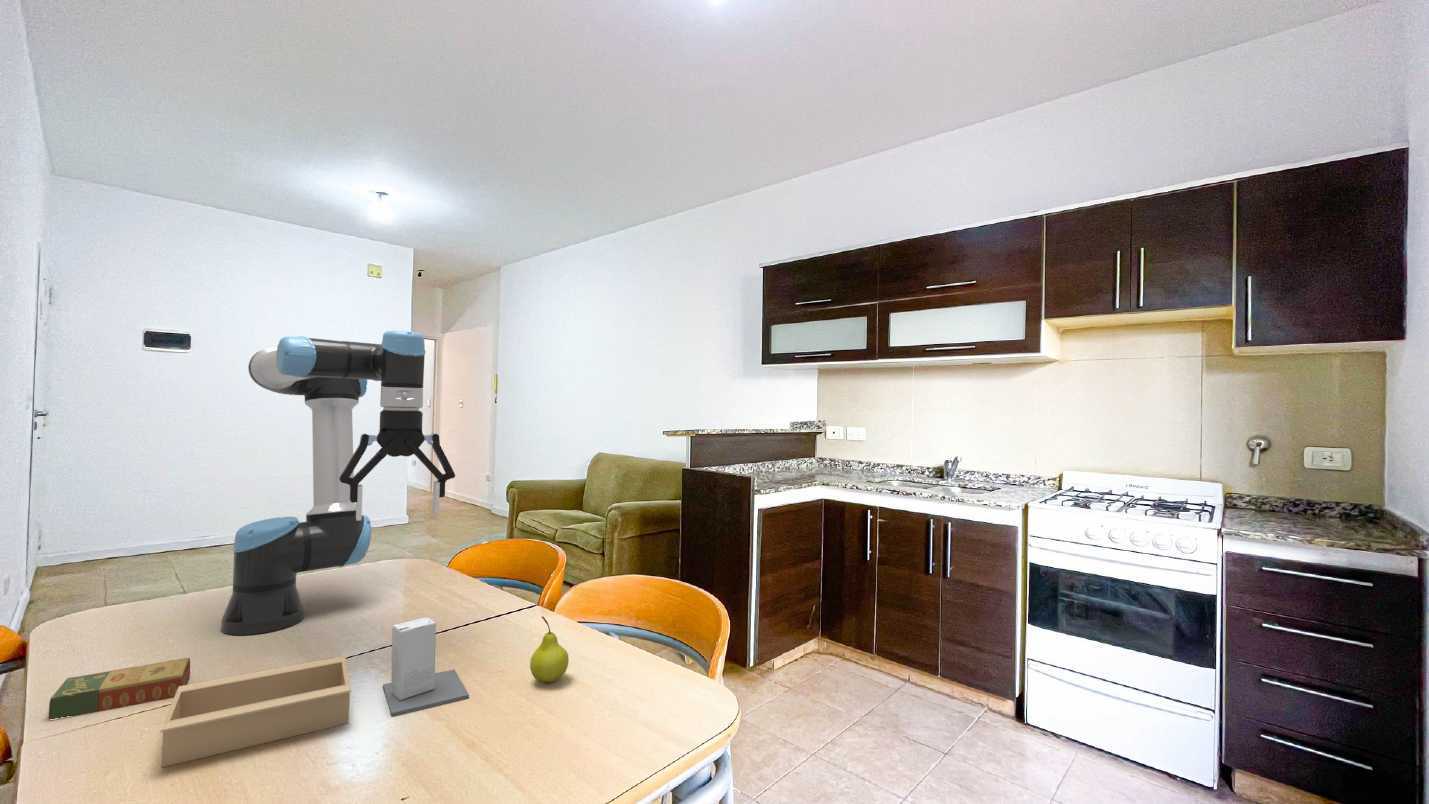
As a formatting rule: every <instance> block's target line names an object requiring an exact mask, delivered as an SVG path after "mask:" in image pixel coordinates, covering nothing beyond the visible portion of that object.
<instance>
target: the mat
mask: <svg viewBox="0 0 1429 804" xmlns="http://www.w3.org/2000/svg"><path fill="white" fill-rule="evenodd" d="M382 688H383V692H384V696H385V699H386V703H387V706H388V710H389V713H390V716H391V718H393V717H396V716H400V715H404V714H409V713H414V712H417V711H422V710H425V709H429V708H434V707H437V706H443V705H446V704H449V703H450V704H451V703H454V702H458V701H462V700H466V699H470V694H469V692H468V690H467V688H466V687H465V685H464V683H463V681H462V680H461V678H460V676H459V675H458V674H457V672H456V670H455V669H449V670H444V671H440V672H435V688H434V689H433V690H430V691H427V692H424V693H421V694H418V695H415V696H412V697H409V698H406V699H402V700H399V699H398V698H397V697H396V696H394V694H393V693H392V692H391V682H388V683H384V684H382Z"/></svg>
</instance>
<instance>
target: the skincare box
mask: <svg viewBox="0 0 1429 804" xmlns="http://www.w3.org/2000/svg"><path fill="white" fill-rule="evenodd" d="M391 627H392V628H391V629H392V630H391V680H390V681H391V682H390V683H391V692H392V693H393V694H394V696H396V697H397V698H398V699H399V700H402V699H406V698H409V697H412V696H415V695H418V694H421V693H424V692H427V691H430V690H433V689H434V688H435V673H436V649H437V647H436V645H437V644H436V643H437V642H436V641H437V637H436V635H437V629H436V627H437V623H436V622H435V621H434V620H432V619H431V618H429V617H428V616H427V617H421V618H417V619H413V620H408V621H405V622H401V623H396V624H393V625H392V626H391Z"/></svg>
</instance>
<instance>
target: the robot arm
mask: <svg viewBox="0 0 1429 804" xmlns="http://www.w3.org/2000/svg"><path fill="white" fill-rule="evenodd" d="M381 340H382V341H381V344H380V343H373V342H372V343H370V342H369V343H368V342H361V341H360V342H357V341H346V340H332V339H323V338H313V337H306V336H284V337H282V338H280V340H279V342H278V344H277V347H276V346H274V347H273V346H272V347H267V348H263V349H261V350H259V351H257V352H256V353H254V354H253V355H252V357H251V358H250V360H249V363H248V366H247V368H248V375H249V376H250V378H251V380H252V381H253V382H254V383H255V384H256V385H258V386H259V387H261V388H263V389H265V390H267V391H270V392H273V393H277V394H280V395H281V394H282V395H290V396H304V405H306V406H307V407H308V408H309V409H310V410H311V412H312V417H311V421H312V422H311V423H312V428H311V429H312V430H311V431H312V474H313V475H312V480H313V481H312V482H313V483H312V484H313V485H312V486H313V487H312V489H313V491H312V492H313V495H312V496H313V497H312V498H313V506H312V508H311V509H310V510H308V512H307V513H306V514H305V517H306V518H305V519H306V520H305V521H302V522H300V520H299V519H298V518H297V517H295V516H284V517H279V516H278V517H273V518H267V519H263V520H257V521H254V522H251V523H249V524H246V525H243V526H242V527H240V528H239V529H238V530H237V531H236V532H235V535H234V536H235V537H234V543H233V547H232V552H233V571H232V577H233V578H232V594H231V597H230V599H229V601H228V603H227V606H226V609H225V610H224V614H223V615H222V618H221V623H220V624H221V626H220V631H221V632H222V633H224V634H228V635H236V636H246V635H256V634H257V635H258V634H264V633H270V632H275V631H278V630H282V629H286V628H289V627H292V626H295V625H296V624H298V623H300V622H301V621H303V619H304V618H305V607H304V604H303V601H302V598H301V595H300V593H299V590H298V587H297V575H298V573H303V572H311V571H317V570H325V569H329V568H340V567H345V566H349V565H353V564H358V563H359V562H360V563H361V561H362V560H363V559H364V558H365V557H366V554H367V553H368V550H369V548H370V543H371V539H372V525H371V519H370V518H369V517H368V516H367V515H365V514H363V515H362V513H363V490H364V489H363V488H364V487H363V484H361V482H362V481H363V480H364V479H365V478H366V477H367V475H368V474H369V473H371V472H372V470H374V468H375V467H377V465H378V464H379V463H380V462H381V461H383V459H384V458H385V457H387V456H390V457H391V458H394V457H395V458H396V457H399V456H400V457H411V456H413V455H414V456H415V457H417V459H418V460H419V461H420V462H421V464H423V465H424V467H426V469H428V470H429V471H428V472H430V473H431V474H432V475H433V476H434V477H435V479H436V480H435V481H433V483H432V485H433V486H432V509H431V510H432V514H433V515H434V516H435V515H437V516H438V515H440V498H444V497H445V495H446V482H447V481H448V480H451V479H454V478H455V477H456V473H455V472H454V469H453V467H452V465H451V464H450V461H449V459H448V458H447V456H446V453H445V452H444V450H443V447H442V446H441V443H440V435H439V434H438V433H431V434H426V435H425V434H423V413H424V412H422V410H420V409H423V407H424V406H423V405H424V381H425V380H424V379H425V354H426V350H425V349H426V348H425V347H426V346H425V337H424V336H423V335H422V334H421V333H419V332H416V331H415V332H414V331H404V330H388V331H385V332H384V333H383V335H382V339H381ZM370 380H372V381H374V382H380V401H379V402H380V405H379V406H380V408H383V410H381V411H380V412H379V430H378V434H377V435H375V434H367V433H364V432H363V433H361V435H360V437H359V439H360V440H359V445H358V446H357V448H356V450H355V451H354V439H353V438H354V437H353V436H354V433H353V432H354V431H353V430H354V429H353V409H354V408H355V407H356V406H357V405H358V404H359V401H360V398H361V397H363V396H366V393H367V389H368V388H367V386H368V381H370ZM425 441H426V442H427V444H428V445H430V446H431V448H432V449H433V451H434V453H435V455H436V457H437V459H438V461H439V463H440V465H441V466H442V469H443V471H444V473H442V472H441V471H440V470H439V468H437V466H436V465H435V464H434V463H433V462H432V460H430V458H428V457H427V455H426V454H425V453H424V452H423V451H422V449H420V447H421V446H422V444H423V443H424V442H425ZM374 442H377V444H378V445H379V446H380V447H381V448H379V450H378V451H377V452H376V453H375V455H373V457H371V458H370V460H368V461H367V463H365V465H363V467H362V468H360V470H359V471H358V472H356V473H355V472H354V471H355V468H357V465H358V463H359V462H360V461H361V459H362V457H363V455H364V453H365V452H366V450H367V448H368V446H372V444H373V443H374ZM354 473H355V474H354Z"/></svg>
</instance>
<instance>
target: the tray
mask: <svg viewBox="0 0 1429 804" xmlns="http://www.w3.org/2000/svg"><path fill="white" fill-rule="evenodd" d="M350 684H351V683H350V678H349V673H348V668H347V660H346V656H345V655H344V656H337V657H334V658H332V657H331V658H327V659H321V660H315V661H310V662H305V663H301V664H300V663H298V664H295V665H290V666H289V665H287V666H283V667H278V668H273V669H267V670H262V671H256V672H250V673H245V674H244V673H243V674H239V675H234V676H227V677H223V678H217V679H211V680H206V681H201V682H195V683H190V684H187V685H184V686H179V687H178V689H177V692H176V694H175V697H174V698H172V699H173V700H172V702H171V704H170V707H169V709H168V711H167V714H166V716H165V718H164V721H163V723H162V727H161V728H160V733H162V746H161V747H162V750H161V753H162V754H161V768H165V767H169V766H173V765H174V766H175V765H177V764H182V763H185V762H191V761H194V760H199V759H202V758H207V757H211V756H216V755H220V754H224V753H227V752H228V753H229V752H232V751H236V750H240V749H244V748H248V747H254V746H257V745H261V744H266V743H268V742H270V743H271V742H275V741H278V740H283V739H286V738H292V737H295V736H299V735H304V734H309V733H313V732H317V731H320V730H325V729H329V728H332V727H333V728H334V727H336V726H337V727H338V726H341V725H347V724H349V722H350V700H351V699H350V698H351V695H350V694H351V692H352V688H351V685H350Z"/></svg>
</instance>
